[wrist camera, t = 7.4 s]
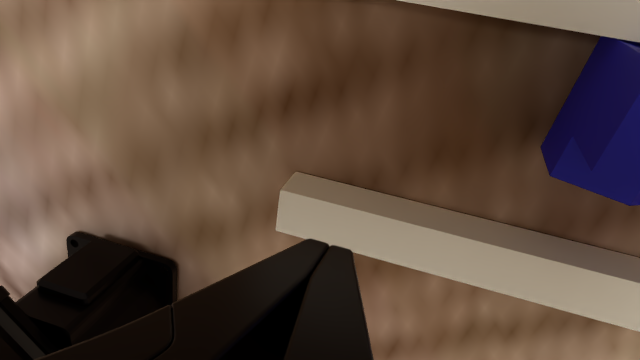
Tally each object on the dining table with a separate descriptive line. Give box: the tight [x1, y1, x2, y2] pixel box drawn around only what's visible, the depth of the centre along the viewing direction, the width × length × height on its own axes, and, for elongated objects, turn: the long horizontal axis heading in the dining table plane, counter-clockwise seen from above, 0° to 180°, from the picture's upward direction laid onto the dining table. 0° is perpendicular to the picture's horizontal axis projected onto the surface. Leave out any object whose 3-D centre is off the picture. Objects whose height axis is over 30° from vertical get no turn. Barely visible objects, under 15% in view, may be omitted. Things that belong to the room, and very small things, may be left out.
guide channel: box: [276, 0, 640, 332], centre depth 17 cm, size 12×24×4 cm, turn 81°
